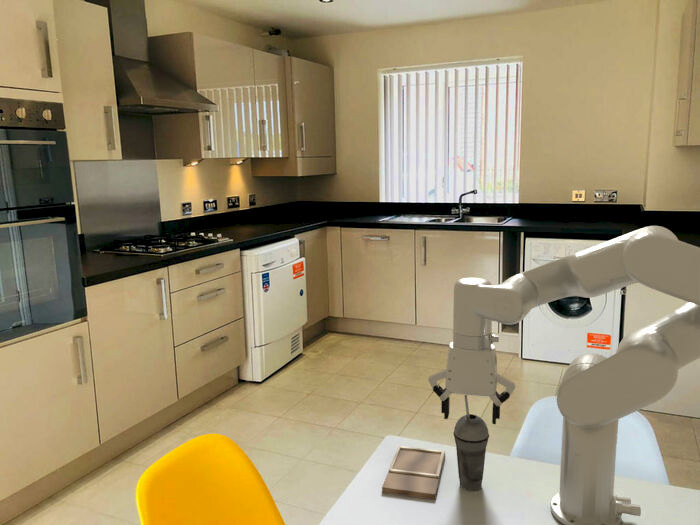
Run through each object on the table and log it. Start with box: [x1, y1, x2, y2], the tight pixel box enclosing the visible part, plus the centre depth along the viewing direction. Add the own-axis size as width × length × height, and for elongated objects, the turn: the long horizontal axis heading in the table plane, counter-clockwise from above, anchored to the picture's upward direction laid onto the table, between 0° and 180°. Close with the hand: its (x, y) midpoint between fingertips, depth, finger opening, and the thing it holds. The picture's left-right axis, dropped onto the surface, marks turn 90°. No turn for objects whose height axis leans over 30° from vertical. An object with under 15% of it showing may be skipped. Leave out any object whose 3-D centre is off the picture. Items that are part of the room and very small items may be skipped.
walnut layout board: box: [381, 445, 446, 500], centre depth 128 cm, size 11×17×2 cm, turn 164°
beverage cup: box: [453, 395, 490, 492], centre depth 122 cm, size 7×7×20 cm
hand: (470, 418), depth 121 cm, fingers open, 9 cm apart
